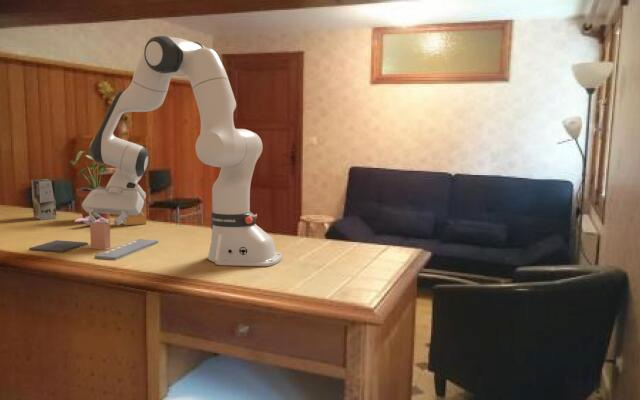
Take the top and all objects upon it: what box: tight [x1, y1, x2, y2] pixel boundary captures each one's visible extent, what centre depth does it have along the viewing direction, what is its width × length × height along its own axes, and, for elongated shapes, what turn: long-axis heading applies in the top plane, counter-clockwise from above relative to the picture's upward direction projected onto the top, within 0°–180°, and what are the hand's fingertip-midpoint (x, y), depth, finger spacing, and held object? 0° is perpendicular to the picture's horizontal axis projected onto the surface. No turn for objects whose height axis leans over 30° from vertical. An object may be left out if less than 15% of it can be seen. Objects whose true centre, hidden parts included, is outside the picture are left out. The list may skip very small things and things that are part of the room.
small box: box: [122, 191, 147, 226], centre depth 206 cm, size 8×6×13 cm
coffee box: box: [30, 178, 57, 221], centre depth 215 cm, size 9×6×16 cm
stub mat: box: [28, 239, 89, 254], centre depth 166 cm, size 12×12×1 cm
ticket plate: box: [94, 238, 159, 261], centre depth 164 cm, size 7×24×1 cm, turn 168°
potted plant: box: [69, 149, 111, 220], centre depth 211 cm, size 16×15×35 cm
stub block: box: [89, 222, 112, 250], centre depth 165 cm, size 5×3×8 cm, turn 78°
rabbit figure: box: [73, 213, 111, 226], centre depth 201 cm, size 6×6×15 cm
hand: (103, 222), depth 166 cm, fingers open, 8 cm apart
